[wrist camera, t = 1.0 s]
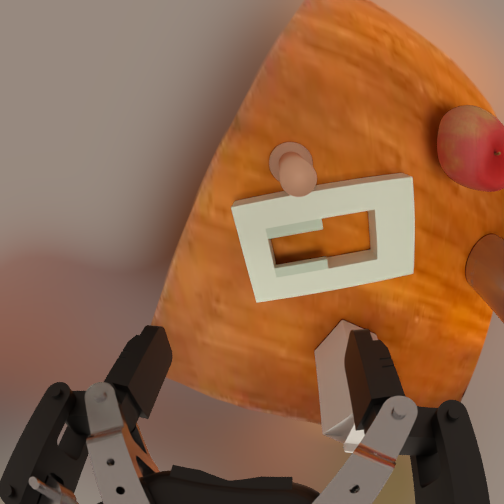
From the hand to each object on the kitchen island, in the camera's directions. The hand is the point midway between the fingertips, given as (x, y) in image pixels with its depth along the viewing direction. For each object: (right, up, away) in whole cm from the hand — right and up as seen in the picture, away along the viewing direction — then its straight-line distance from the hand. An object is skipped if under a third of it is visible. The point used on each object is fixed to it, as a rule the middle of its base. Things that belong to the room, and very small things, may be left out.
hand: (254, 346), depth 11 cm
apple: (+24, +17, +14) cm, 33 cm away
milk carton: (+14, -10, +27) cm, 32 cm away
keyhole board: (+9, +6, +20) cm, 23 cm away
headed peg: (+4, +14, +17) cm, 22 cm away
